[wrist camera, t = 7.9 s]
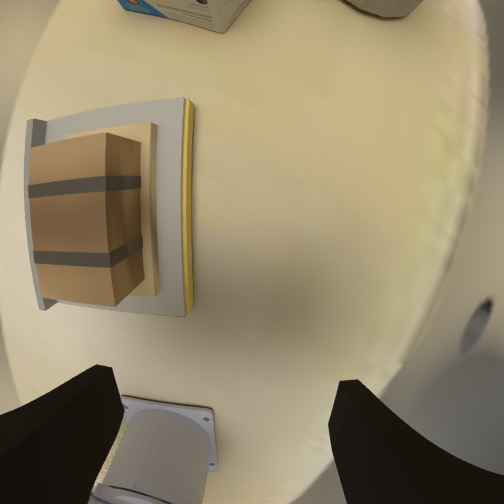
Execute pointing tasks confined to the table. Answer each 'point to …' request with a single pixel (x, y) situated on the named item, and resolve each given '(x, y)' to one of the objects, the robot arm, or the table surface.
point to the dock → (167, 195)
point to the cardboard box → (96, 215)
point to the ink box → (191, 11)
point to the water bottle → (386, 7)
